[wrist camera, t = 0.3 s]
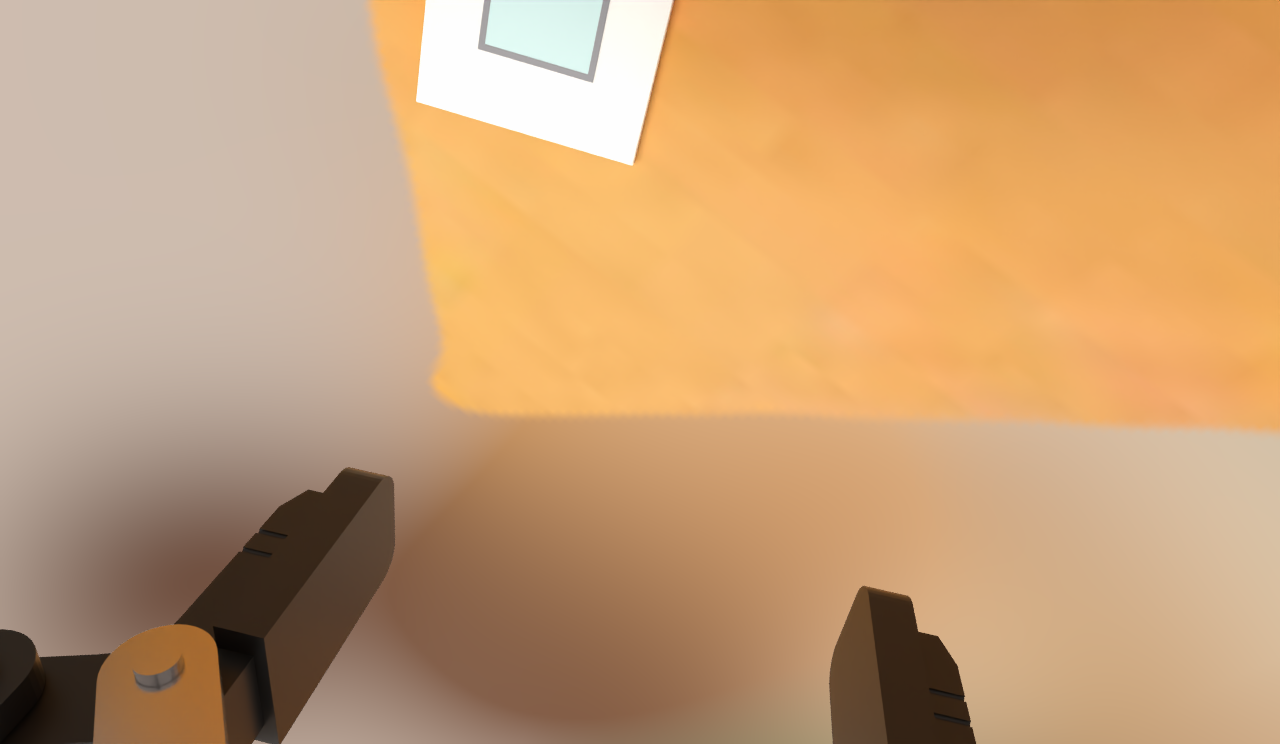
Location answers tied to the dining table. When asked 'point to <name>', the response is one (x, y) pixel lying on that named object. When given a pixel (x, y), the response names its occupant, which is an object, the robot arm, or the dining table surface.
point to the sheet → (547, 67)
